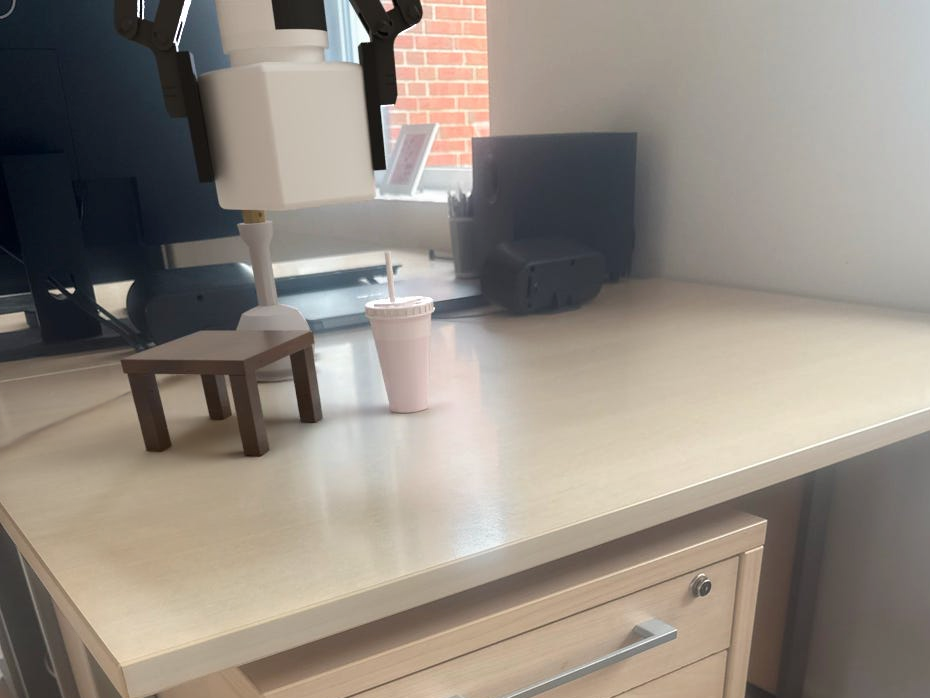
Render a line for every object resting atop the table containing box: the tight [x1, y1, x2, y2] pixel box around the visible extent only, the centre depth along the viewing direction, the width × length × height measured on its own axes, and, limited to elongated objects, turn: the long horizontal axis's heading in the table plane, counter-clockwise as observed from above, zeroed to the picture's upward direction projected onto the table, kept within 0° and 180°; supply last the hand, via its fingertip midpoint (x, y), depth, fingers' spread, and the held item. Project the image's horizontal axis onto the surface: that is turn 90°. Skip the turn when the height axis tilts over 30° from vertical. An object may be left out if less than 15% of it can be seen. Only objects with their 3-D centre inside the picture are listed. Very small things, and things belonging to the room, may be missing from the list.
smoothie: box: [364, 250, 436, 414], centre depth 84 cm, size 6×6×14 cm
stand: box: [119, 329, 324, 457], centre depth 81 cm, size 12×12×8 cm
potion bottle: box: [235, 210, 316, 383], centre depth 99 cm, size 9×9×18 cm
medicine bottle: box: [197, 0, 377, 212], centre depth 53 cm, size 7×7×12 cm
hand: (293, 175), depth 55 cm, fingers closed on medicine bottle, 10 cm apart
